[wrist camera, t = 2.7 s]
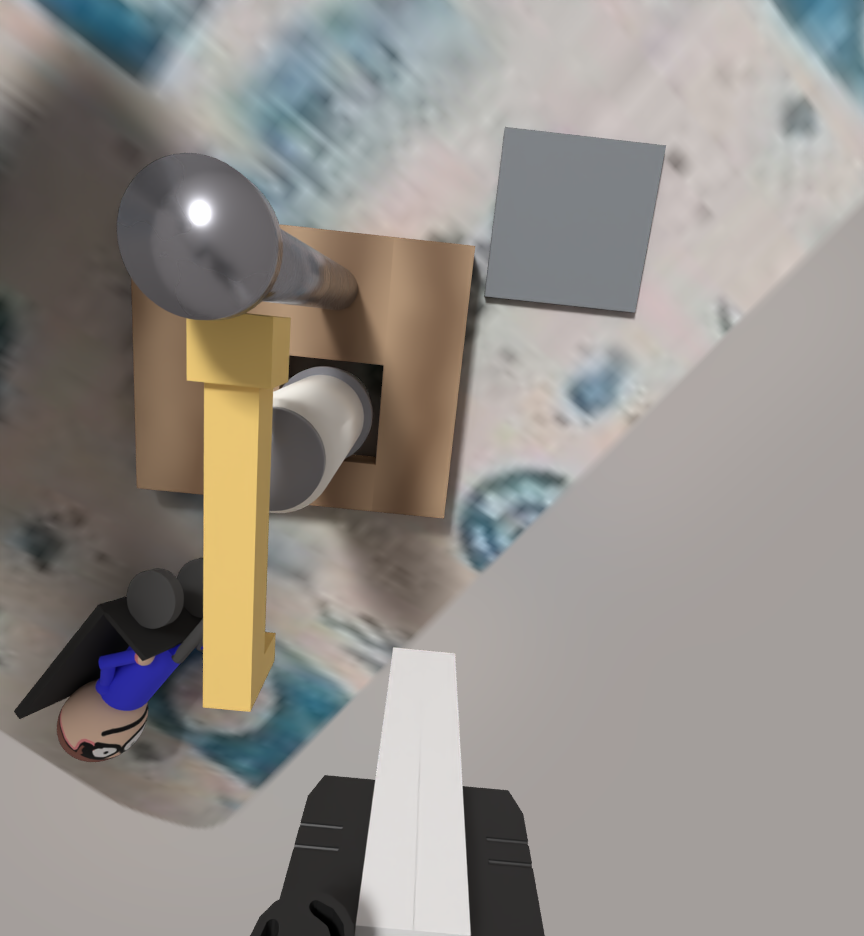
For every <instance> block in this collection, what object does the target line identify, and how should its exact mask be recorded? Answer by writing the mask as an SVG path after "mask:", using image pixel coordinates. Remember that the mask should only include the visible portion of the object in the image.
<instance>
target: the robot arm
mask: <svg viewBox="0 0 864 936" xmlns="http://www.w3.org/2000/svg"><path fill="white" fill-rule="evenodd" d="M385 706H386V707H385V713H384V721H383V728H382V735H381V742H380V750H379V757H378V765H377V772H376V779H375V780H371V779H358V778H349V777H338V776H327V775H325V776H324V777H323V778H322V779H321V781H320V782H319V783H318V784H317V786H316V787H315V788H314V789H313V790H312V792H311V793H310V794H309V795H308V798H307V801H306V805H305V808H304V812H303V816H302V819H301V825H300V827H299V830H298V834H297V838H296V841H295V847H294V849H293V852H292V856H291V860H290V863H289V867H288V871H287V874H286V878H285V882H284V886H283V889H282V892H281V896H280V899H279V900H278V901H276V902H274V903H273V904H272V905H271V906H270V907H269V908H268V910H266V911H265V912H264V913H263V914H262V915H261V916H260V917H259V920H258V921H257V923H256V925H255V927H254V930H253V932H252V933H251V935H250V936H545V935H544V929H543V924H542V918H541V913H540V907H539V901H538V896H537V890H536V884H535V879H534V873H533V869H532V865H531V864H532V861H531V856H530V850H529V846H528V839H527V833H526V827H525V822H524V816H523V813H522V811H521V810H520V808H519V807H518V805H517V803H516V802H515V800H514V799H513V797H512V795H511V794H510V793H509V791H508V790H498V789H487V788H476V787H465V786H462V769H461V751H460V734H459V715H458V698H457V679H456V661H455V653H446V652H436V651H425V650H416V649H405V648H395V647H393V654H392V661H391V668H390V676H389V683H388V691H387V699H386V705H385Z"/></svg>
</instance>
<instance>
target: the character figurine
mask: <svg viewBox="0 0 864 936" xmlns="http://www.w3.org/2000/svg"><path fill="white" fill-rule="evenodd" d="M194 648H196V649H197V650H199V651H203V558H199V559H195V560H192V561H190V562H188V563H186V564H185V565H184V566H183V567H182V569H181V570H180V572H179V574H178V576H177V578H176V577H175V576H174V575H173V574H172V573H171V572H169V571H167V570H165V569H152V570H148V571H144V572H141V573H139V574H138V575H136V576H135V577H134V578H133V580H132V581H131V583H130V585H129V587H128V591H127V597H124V598H120V599H117V600H113V601H110V602H106V603H103V604H100V605H98V606H97V607H96V608H95V610H94V611H93V612H92V614H91V615H90V616H89V617H88V619H87V620H86V621H85V622H84V624H83V625H82V626H81V627H80V629H79V630H78V631H77V632H76V634H75V635H74V636H73V637H72V639H71V640H70V641H69V643H68V644H67V645H66V646H65V648H64V649H63V650H62V651H61V653H60V654H59V655H58V656H57V658H56V659H55V660H54V661H53V663H52V664H51V665H50V667H49V668H48V669H47V670H46V672H45V673H44V674H43V675H42V677H41V678H40V679H39V680H38V682H37V683H36V684H35V685H34V687H33V688H32V689H31V690H30V692H29V693H28V694H27V696H26V697H25V698H24V699H23V701H22V702H21V703H20V704H19V706H18V707H17V708H16V709H15V711H14V712H15V713H16V715H17V716H18V717H19V719H21V718H23V717H25V716H28V715H30V714H32V713H34V712H36V711H39V710H41V709H43V708H45V707H47V706H50V705H52V704H54V703H56V702H58V701H61V700H63V699H65V698H67V697H69V698H68V700H67V701H66V702H65V704H64V705H63V707H62V709H61V711H60V714H59V717H58V721H57V735H58V739H59V742H60V744H61V746H62V747H63V749H64V750H65V751H66V752H67V753H68V754H69V755H71V756H72V757H74V758H76V759H78V760H81V761H86V762H100V761H105V760H108V759H111V758H114V757H116V756H118V755H120V754H121V753H123V752H124V751H126V750H127V749H128V748H130V747H131V746H132V745H133V744H134V743H135V742H136V740H137V739H138V738H139V736H140V735H141V733H142V731H143V730H144V727H145V725H146V722H147V717H148V704H147V702H148V701H149V699H150V698H151V697H152V696H153V695H154V694H155V692H156V691H157V690H158V689H159V688H160V686H161V685H162V684H163V683H164V682H165V681H166V679H167V678H168V677H169V676H170V675H171V674H172V672H173V671H174V670H175V669H176V668H177V667H178V665H179V664H180V663H182V662H183V661H184V660H185V659H186V658H187V656H188V655H189V654H190V653H191V652H192V651H193V649H194Z"/></svg>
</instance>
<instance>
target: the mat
mask: <svg viewBox="0 0 864 936" xmlns="http://www.w3.org/2000/svg"><path fill="white" fill-rule="evenodd" d="M665 148H666V145H657V144H648V143H640V142H631V141H622V140H613V139H605V138H596V137H587V136H579V135H570V134H561V133H553V132H544V131H535V130H526V129H518V128H509V127H505V130H504V138H503V146H502V155H501V163H500V171H499V179H498V188H497V196H496V204H495V213H494V221H493V229H492V237H491V246H490V254H489V262H488V270H487V279H486V287H485V295H484V297H494V298H503V299H512V300H521V301H531V302H540V303H549V304H558V305H568V306H577V307H586V308H595V309H605V310H614V311H623V312H635V310H636V305H637V299H638V294H639V288H640V283H641V278H642V272H643V267H644V261H645V256H646V251H647V245H648V240H649V234H650V229H651V224H652V218H653V213H654V207H655V202H656V197H657V191H658V186H659V181H660V175H661V170H662V164H663V159H664V154H665Z"/></svg>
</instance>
